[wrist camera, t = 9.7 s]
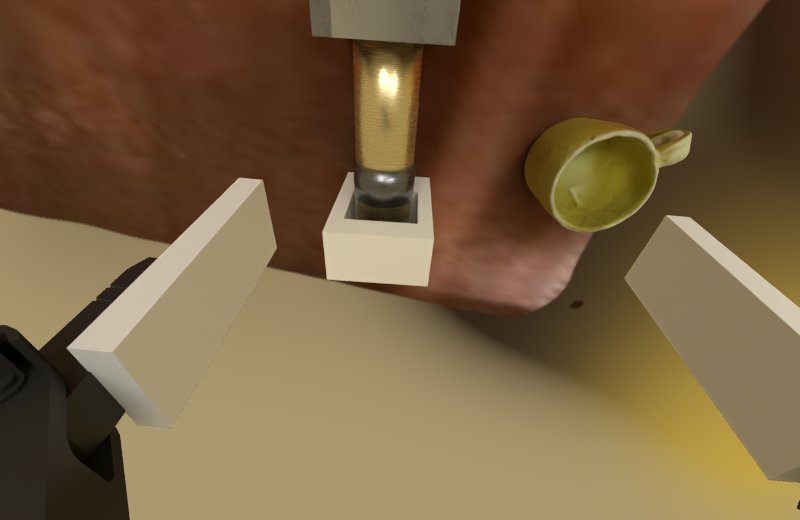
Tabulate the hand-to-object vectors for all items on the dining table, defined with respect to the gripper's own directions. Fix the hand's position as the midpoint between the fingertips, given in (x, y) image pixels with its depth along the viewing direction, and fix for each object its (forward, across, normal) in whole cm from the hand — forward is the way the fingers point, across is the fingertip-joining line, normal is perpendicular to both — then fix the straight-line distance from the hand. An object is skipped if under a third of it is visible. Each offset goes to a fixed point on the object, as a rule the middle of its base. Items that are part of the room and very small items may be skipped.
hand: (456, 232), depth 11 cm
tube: (+21, -4, -3) cm, 21 cm away
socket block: (+25, -4, -12) cm, 28 cm away
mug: (+25, +16, -5) cm, 30 cm away
